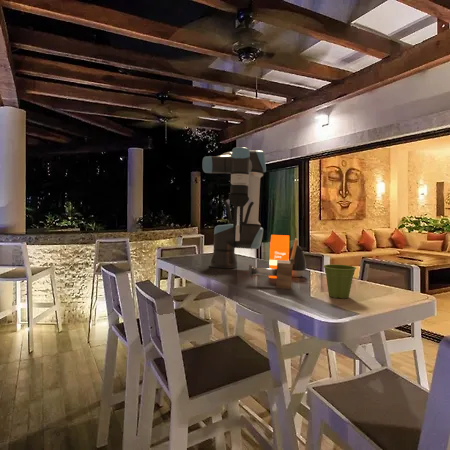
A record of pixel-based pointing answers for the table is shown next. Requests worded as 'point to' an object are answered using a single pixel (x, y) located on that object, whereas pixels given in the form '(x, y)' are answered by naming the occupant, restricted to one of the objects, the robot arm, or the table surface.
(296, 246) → the plate
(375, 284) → the table surface
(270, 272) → the pin
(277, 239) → the orange juice
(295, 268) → the pump dispenser
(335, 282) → the plant pot
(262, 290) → the table surface
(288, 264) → the hitch block
